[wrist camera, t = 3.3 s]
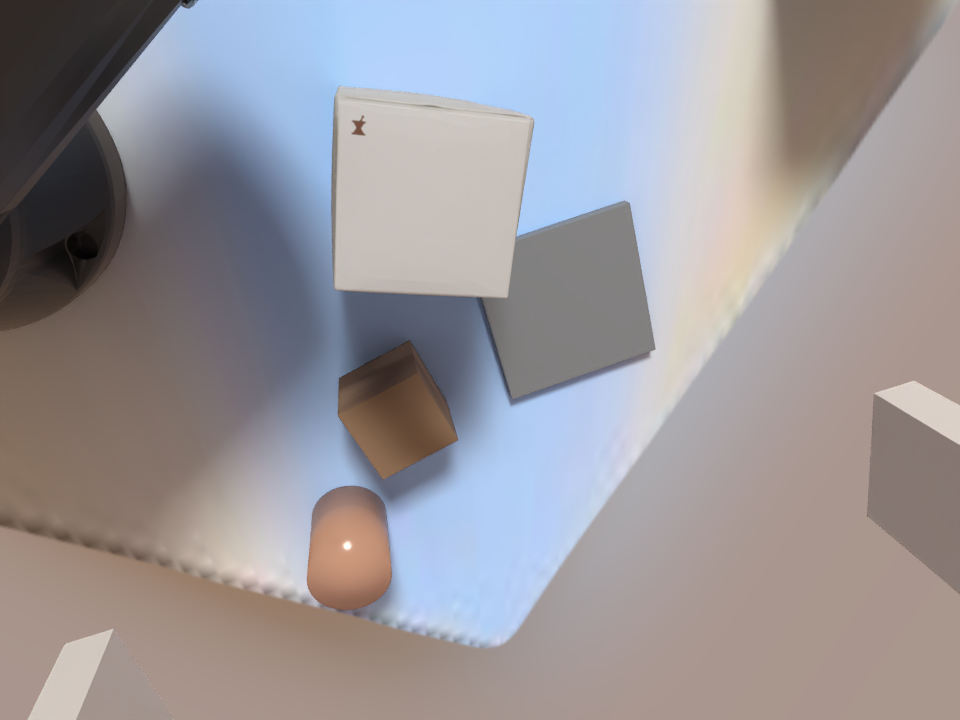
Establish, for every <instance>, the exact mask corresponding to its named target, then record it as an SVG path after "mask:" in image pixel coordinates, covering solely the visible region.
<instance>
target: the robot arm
mask: <svg viewBox="0 0 960 720" xmlns="http://www.w3.org/2000/svg"><path fill="white" fill-rule="evenodd" d="M197 1H198V0H0V331H4V330H9V329H14V328H17V327H21V326H24V325H27V324H30V323H33V322H35V321H38V320H41V319H43V318H45V317H47V316H49V315H51V314H53V313H55V312H56V311H58V310H60V309H61V308H63V307H64V306H66V305H67V304H69V303H70V302H71V301H73V300H74V299H75V298H76V297H77V296H79V295H80V294H81V293H82V292H84V291H85V290H86V289H87V288H89V287H90V286H91V285H92V284H93V283H94V282H95V281H96V280H97V279H98V278H99V276H100V275H101V274H102V273H103V272H104V270H105V269H106V267H107V266H108V264H109V263H110V261H111V259H112V258H113V256H114V254H115V252H116V250H117V247H118V245H119V242H120V239H121V236H122V232H123V228H124V223H125V215H126V188H125V180H124V174H123V170H122V166H121V162H120V159H119V155H118V152H117V150H116V147H115V144H114V142H113V139H112V137H111V135H110V133H109V131H108V129H107V127H106V125H105V123H104V122H103V120H102V118H101V116H100V115H99V113H98V112H97V110H96V109H97V108H98V106H99V105H100V104H101V103H102V102H103V100H104V99H105V98H106V97H107V95H108V94H109V93H110V92H111V90H112V89H113V88H114V87H115V86H116V84H117V83H118V82H119V81H120V79H121V78H122V77H123V76H124V74H125V73H126V72H127V71H128V70H129V68H130V67H131V66H132V65H133V63H134V62H135V61H136V60H137V58H138V57H139V56H140V55H141V54H142V52H143V51H144V50H145V49H146V47H147V46H148V45H149V44H150V43H151V41H152V40H153V39H154V38H155V36H156V35H157V34H158V33H159V31H160V30H161V29H162V28H163V27H164V25H165V24H166V23H167V22H168V20H169V19H170V18H171V17H172V15H173V14H174V13H175V12H176V11H177V9H178V8H179V7H180V6H183V7H185V8H190V7H192V6H194V4H195V3H196V2H197ZM873 404H874V405H873V420H872V438H871V456H870V473H869V492H868V509H867V516H868V517H869V518H870V519H872V520H873V521H874V522H875V523H876V524H877V525H879V526H880V527H881V528H882V529H884V530H885V531H886V532H887V533H888V534H889V535H890V536H892V537H893V538H894V539H895V540H896V541H898V542H899V543H900V544H901V545H902V546H904V547H905V548H906V549H907V550H908V551H909V552H911V553H912V554H913V555H914V556H915V557H916V558H918V559H919V560H920V561H921V562H922V563H924V564H925V565H926V566H927V567H928V568H929V569H931V570H932V571H933V572H934V573H935V574H937V575H938V576H939V577H940V578H941V579H943V580H944V581H945V582H946V583H947V584H948V585H949V586H951V587H952V588H953V589H954V590H955V591H957V592H958V593H959V594H960V405H958V404H956V403H954V402H952V401H950V400H949V399H947V398H945V397H943V396H941V395H939V394H938V393H936V392H934V391H932V390H930V389H928V388H926V387H925V386H923V385H921V384H919V383H917V382H915V381H912V382H909V383H905V384H902V385H899V386H896V387H892V388H890V389H886V390H883V391H880V392H876V393H874V402H873ZM28 720H175V719H174V717H173V716H172V714H171V713H170V711H169V710H168V708H167V707H166V705H165V704H164V702H163V701H162V699H161V698H160V696H159V695H158V693H157V692H156V690H155V689H154V688H153V686H152V685H151V683H150V681H149V680H148V678H147V677H146V676H145V674H144V673H143V671H142V670H141V668H140V667H139V665H138V664H137V662H136V661H135V659H134V658H133V656H132V655H131V653H130V652H129V650H128V649H127V647H126V646H125V644H124V643H123V641H122V640H121V638H120V637H119V635H118V634H117V633H116V631H115V629H111V630H108V631H104V632H101V633H98V634H95V635H91V636H88V637H85V638H82V639H79V640H75V641H72V642H69V643H66V644H64V647H63V649H62V651H61V653H60V655H59V657H58V659H57V661H56V663H55V665H54V667H53V669H52V671H51V673H50V675H49V677H48V679H47V681H46V683H45V685H44V687H43V690H42V691H41V693H40V695H39V698H38V700H37V702H36V704H35V706H34V708H33V710H32V712H31V714H30V716H29V718H28Z"/></svg>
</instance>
